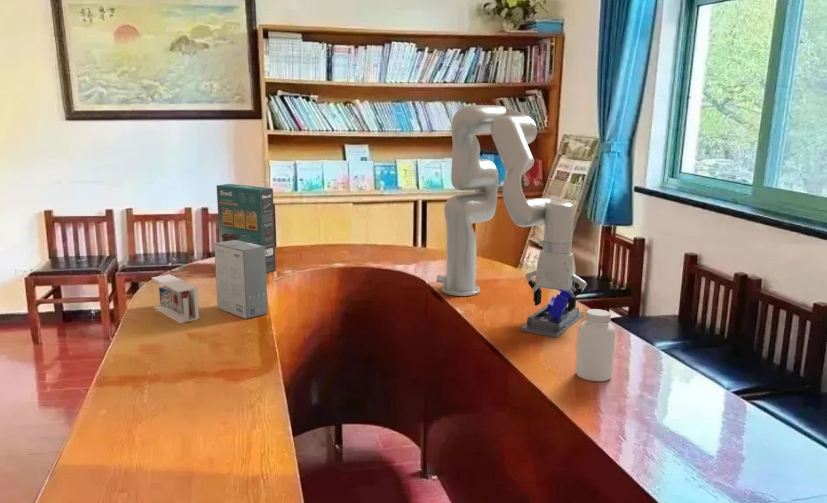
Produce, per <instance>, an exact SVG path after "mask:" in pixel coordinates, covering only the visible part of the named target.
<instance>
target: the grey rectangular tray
mask: <svg viewBox="0 0 827 503" xmlns="http://www.w3.org/2000/svg"><path fill="white" fill-rule="evenodd" d="M548 304H549V303H548ZM548 304H546V305H545V306H543V307H541V308H540V309H539V310H537V311H535V312H534V313H532V314H531V315H529V316H528V317H527V318H526V323H525V324H523V325H522V326H521V327H520V331H521V332H523V333H524V332H525V333H531V334H535V335H540V336H545V337H550V338H556V339H557V338H558V337H559V336H561V335H562V334H563V333H564V332H565V331H567V330H568V329H569V328H570V327H571V326H573V325H575V323H577V322H578V321H579V320H580V319H582V318H583V317H584V315H585V314H584V312H582V311H580V308H579V307H575V308H574V309H573V310H572V311H571V312H569V311H568V305H567V306H566V309H565V311H564V313H563V314H562V316H561V317H560V319H556V318H554V317H552V316H550V315H549V313H550V310H548V309H547V307H548Z"/></svg>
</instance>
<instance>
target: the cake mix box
mask: <svg viewBox="0 0 827 503" xmlns="http://www.w3.org/2000/svg"><path fill="white" fill-rule="evenodd" d="M216 200H217V216H218V220H217V221H218V233H219V234H218V235H219V236H218V237H219V242H225V241H231V240H238V241H243V242H247V243H252V244H256V245H260V246H264V247H265V261H266V275H267V274H271V273H274V272H277V270H276V269H277V267H276V266H277V264H276V263H277V262H276V261H277V260H276V239H275V238H276V237H275V234H276V233H275V212H274V211H275V210H274V209H275V207H274V188H272V187H264V186H263V187H262V186H254V185H253V186H252V185H244V184H233V183H226V184H218V185H216Z"/></svg>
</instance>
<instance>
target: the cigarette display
mask: <svg viewBox="0 0 827 503" xmlns="http://www.w3.org/2000/svg"><path fill="white" fill-rule="evenodd" d="M151 280H153V281H155V282H157V283H159V284H160V285H163V286H159V287H158V291H159V292H158V293H159V303H160V304H159V305H157V306H153V309H155V310H156V311H159V312H160V313H162V314H163V315H166V316H167V317H169V318H171V319H172V320H174V321H176V322H177V323H180V324H183V323H189V322H192V321H197V320H200V308H199V306H200V305H199V293H198V286H195V285H194V284H191V283H189V282H187V281H184V280H183V279H181V278H178V277H176V276H174V275H171V274H170V273H169V274H165V275H164V274H163V275H160V276H152V277H151Z"/></svg>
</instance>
